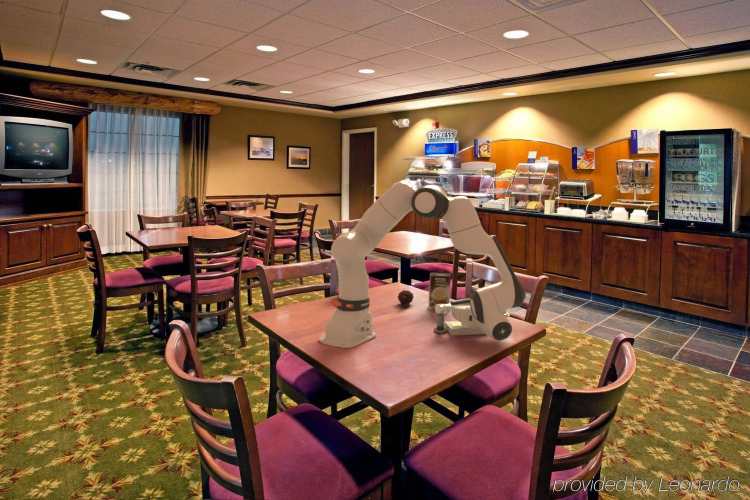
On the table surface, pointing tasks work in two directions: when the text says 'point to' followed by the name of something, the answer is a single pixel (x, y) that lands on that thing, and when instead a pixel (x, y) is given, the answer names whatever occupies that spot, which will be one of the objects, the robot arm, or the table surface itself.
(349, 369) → the table surface
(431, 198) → the robot arm
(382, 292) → the table surface
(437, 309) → the bar
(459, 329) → the block
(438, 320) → the post
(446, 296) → the coffee box
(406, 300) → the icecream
